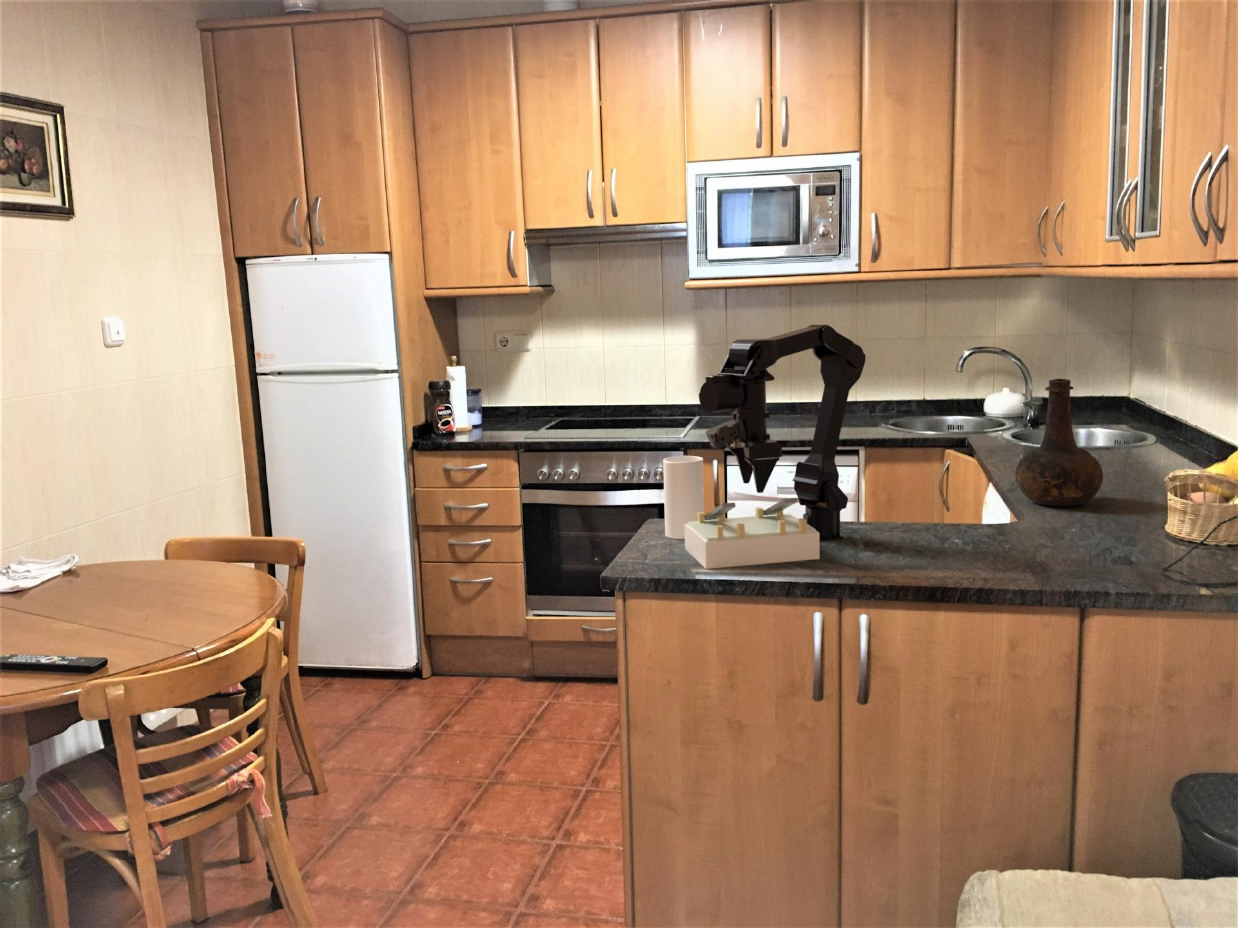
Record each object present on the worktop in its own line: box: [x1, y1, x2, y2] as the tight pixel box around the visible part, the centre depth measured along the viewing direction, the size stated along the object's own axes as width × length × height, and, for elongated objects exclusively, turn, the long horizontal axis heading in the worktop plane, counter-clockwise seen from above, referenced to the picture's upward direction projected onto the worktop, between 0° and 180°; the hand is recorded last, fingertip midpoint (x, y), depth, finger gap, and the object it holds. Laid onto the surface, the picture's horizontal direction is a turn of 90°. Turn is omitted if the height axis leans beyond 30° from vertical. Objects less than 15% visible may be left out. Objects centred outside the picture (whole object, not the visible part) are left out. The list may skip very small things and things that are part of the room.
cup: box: [662, 455, 705, 540], centre depth 211 cm, size 8×8×16 cm
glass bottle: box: [1014, 378, 1104, 508], centre depth 227 cm, size 18×18×28 cm
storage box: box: [684, 506, 820, 570], centre depth 194 cm, size 22×15×8 cm
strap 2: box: [763, 497, 798, 516], centre depth 195 cm, size 14×2×1 cm, turn 11°
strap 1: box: [704, 502, 736, 520], centre depth 193 cm, size 14×2×1 cm, turn 11°
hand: (753, 487), depth 193 cm, fingers open, 9 cm apart
